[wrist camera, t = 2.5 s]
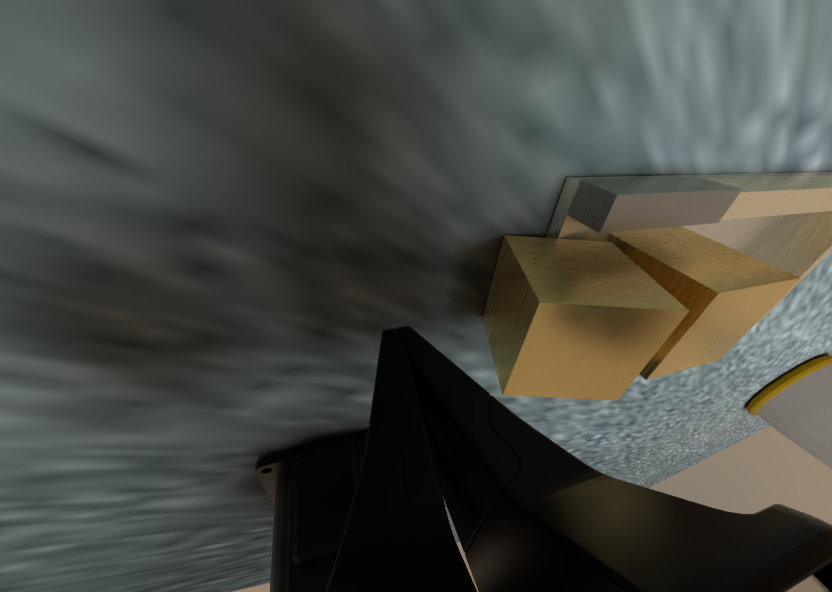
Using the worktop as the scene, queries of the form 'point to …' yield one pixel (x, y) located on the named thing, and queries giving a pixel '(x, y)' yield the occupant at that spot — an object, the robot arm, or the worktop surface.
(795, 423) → the soap bottle
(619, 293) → the chip
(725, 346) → the chip
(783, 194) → the slot board
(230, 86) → the worktop surface
